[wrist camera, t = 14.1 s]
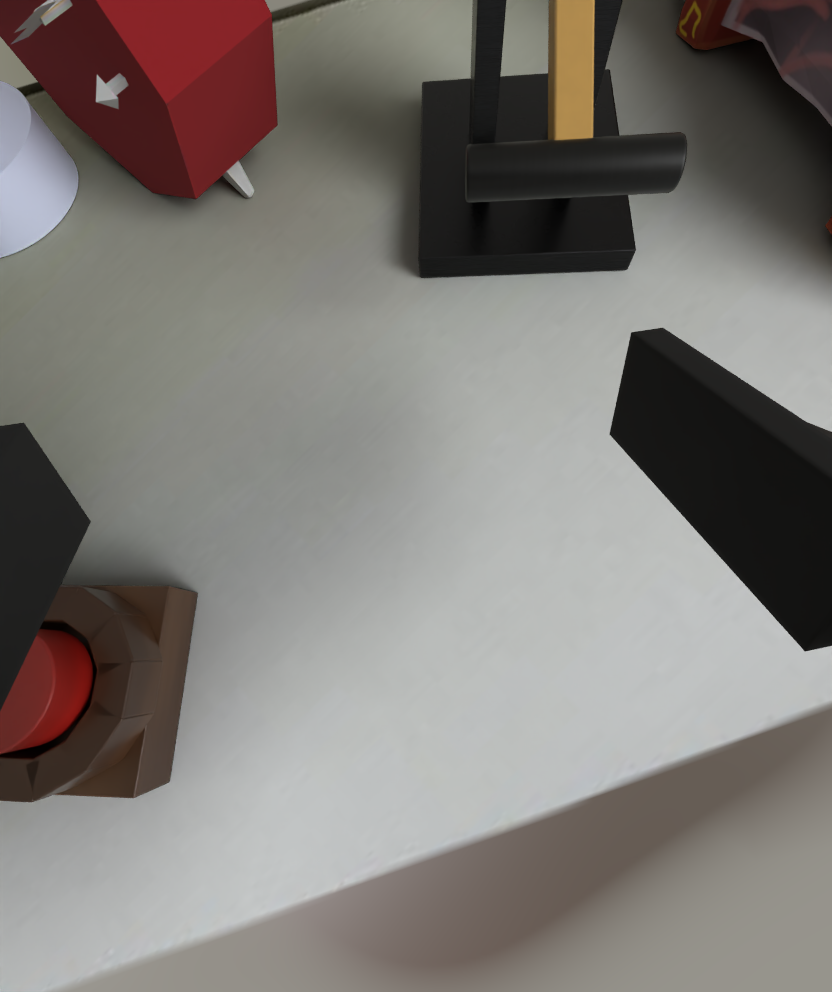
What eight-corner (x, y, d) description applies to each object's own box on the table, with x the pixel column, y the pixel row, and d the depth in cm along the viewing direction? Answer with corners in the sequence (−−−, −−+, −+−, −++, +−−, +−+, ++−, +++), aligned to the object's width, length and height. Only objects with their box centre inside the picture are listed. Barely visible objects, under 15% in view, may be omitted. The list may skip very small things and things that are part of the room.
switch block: (-77, 772, 19) (-208, 801, 15) (-26, 590, 21) (-129, 576, 18) (176, 782, 19) (105, 815, 15) (204, 592, 21) (148, 578, 17)
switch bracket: (627, 270, 24) (874, -276, 10) (420, 278, 25) (375, -220, 11) (603, 94, 28) (758, -490, 13) (423, 106, 28) (393, -436, 14)
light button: (-25, 744, 16) (-81, 754, 14) (5, 628, 17) (-44, 626, 15) (81, 748, 16) (36, 759, 14) (104, 630, 17) (66, 628, 15)
